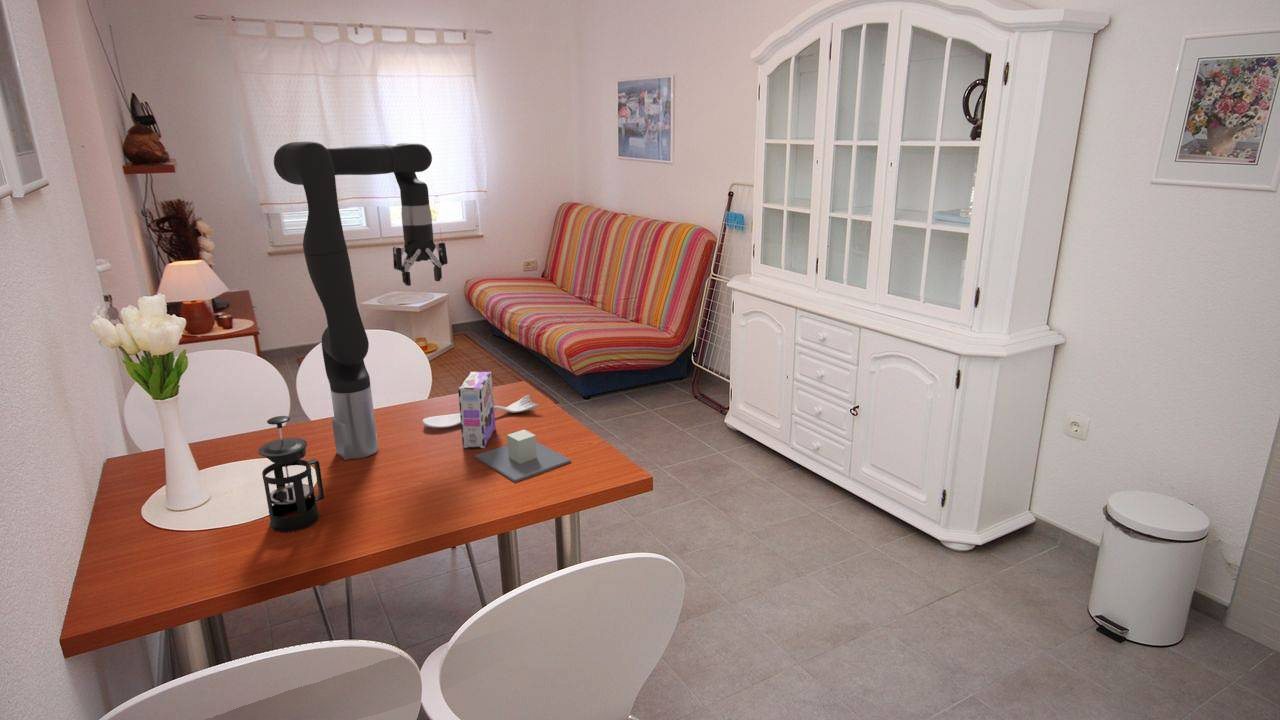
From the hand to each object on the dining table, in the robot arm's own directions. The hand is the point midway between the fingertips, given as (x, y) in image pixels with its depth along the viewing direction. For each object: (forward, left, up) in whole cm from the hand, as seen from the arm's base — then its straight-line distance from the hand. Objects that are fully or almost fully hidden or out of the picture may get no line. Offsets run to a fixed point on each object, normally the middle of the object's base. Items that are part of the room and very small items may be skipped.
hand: (422, 283), depth 199 cm
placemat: (+2, -42, -38) cm, 57 cm away
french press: (-49, -35, -38) cm, 71 cm away
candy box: (+1, -23, -38) cm, 45 cm away
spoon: (+8, -11, -39) cm, 41 cm away
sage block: (+2, -42, -38) cm, 56 cm away
